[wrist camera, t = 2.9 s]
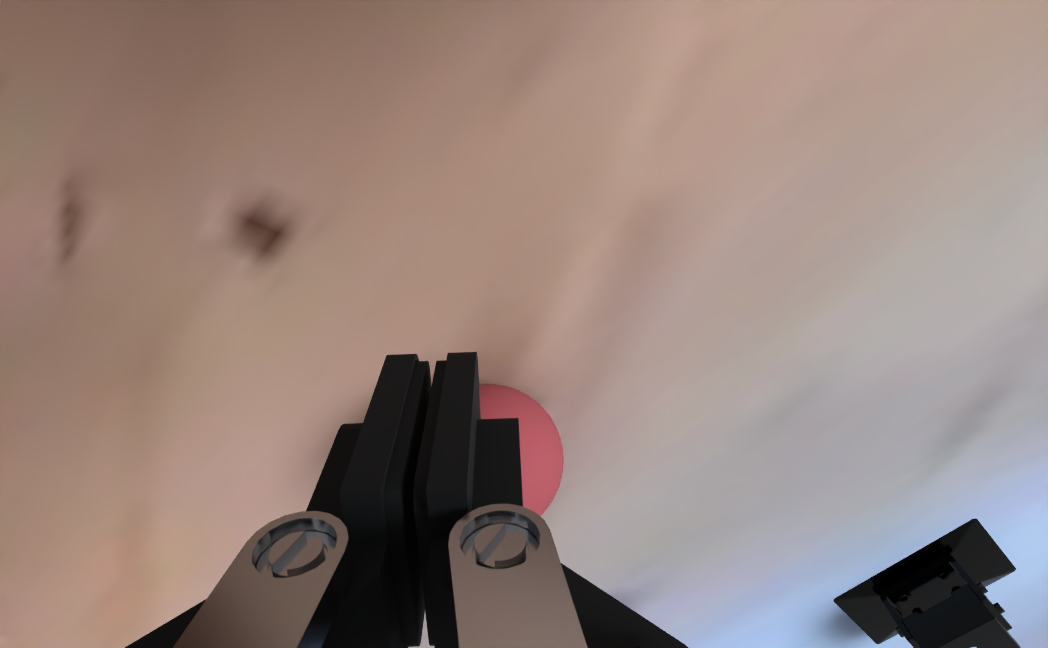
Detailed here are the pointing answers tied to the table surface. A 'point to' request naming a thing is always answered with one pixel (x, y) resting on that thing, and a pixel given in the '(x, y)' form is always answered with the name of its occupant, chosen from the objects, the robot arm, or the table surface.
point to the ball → (529, 442)
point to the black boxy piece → (937, 595)
